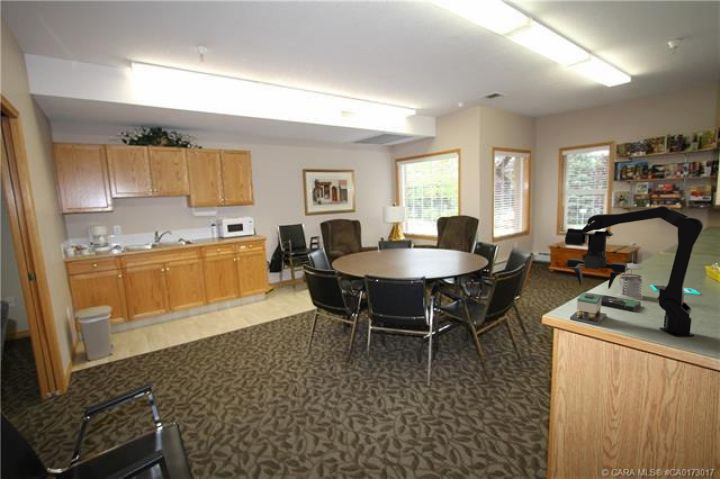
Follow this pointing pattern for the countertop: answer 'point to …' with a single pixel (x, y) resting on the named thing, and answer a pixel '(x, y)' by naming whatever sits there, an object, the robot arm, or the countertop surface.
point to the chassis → (589, 317)
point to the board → (589, 302)
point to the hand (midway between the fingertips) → (594, 286)
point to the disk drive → (620, 303)
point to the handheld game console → (686, 290)
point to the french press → (631, 282)
